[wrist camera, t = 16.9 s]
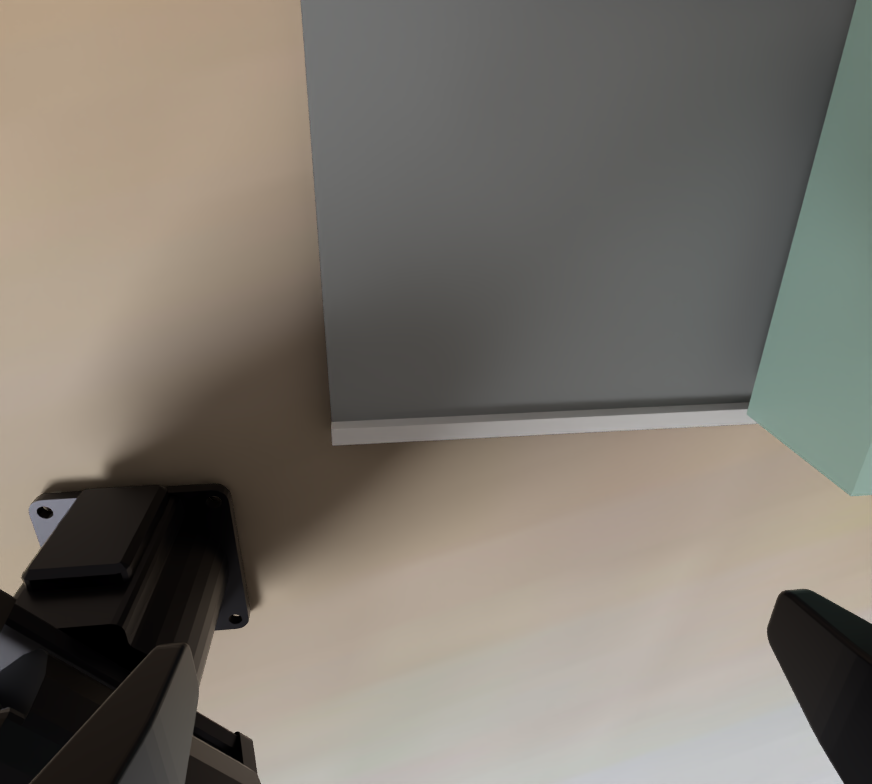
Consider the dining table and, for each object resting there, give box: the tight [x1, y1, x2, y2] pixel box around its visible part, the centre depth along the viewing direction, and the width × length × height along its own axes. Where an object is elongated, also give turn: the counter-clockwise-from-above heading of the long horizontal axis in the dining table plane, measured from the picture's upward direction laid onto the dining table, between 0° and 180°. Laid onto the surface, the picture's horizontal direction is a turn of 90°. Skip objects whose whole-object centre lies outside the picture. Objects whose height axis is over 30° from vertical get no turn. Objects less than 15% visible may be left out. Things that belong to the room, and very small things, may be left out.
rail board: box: [301, 0, 857, 446], centre depth 18 cm, size 14×30×3 cm, turn 90°
